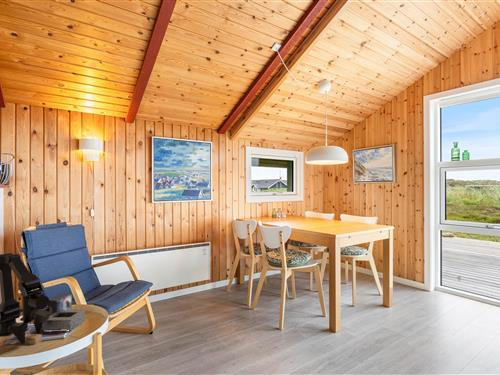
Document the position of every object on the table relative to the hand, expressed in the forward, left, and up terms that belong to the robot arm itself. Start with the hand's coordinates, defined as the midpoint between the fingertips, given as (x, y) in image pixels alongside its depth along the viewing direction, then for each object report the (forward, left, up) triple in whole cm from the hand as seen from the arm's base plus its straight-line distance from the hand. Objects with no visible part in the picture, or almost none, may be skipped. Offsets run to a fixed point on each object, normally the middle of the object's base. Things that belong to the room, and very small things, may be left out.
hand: (30, 338), depth 134 cm
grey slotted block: (+6, +15, -2) cm, 16 cm away
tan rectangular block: (0, 0, -2) cm, 2 cm away
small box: (-6, +29, -2) cm, 30 cm away
